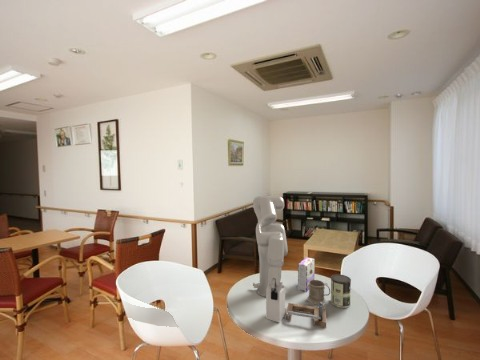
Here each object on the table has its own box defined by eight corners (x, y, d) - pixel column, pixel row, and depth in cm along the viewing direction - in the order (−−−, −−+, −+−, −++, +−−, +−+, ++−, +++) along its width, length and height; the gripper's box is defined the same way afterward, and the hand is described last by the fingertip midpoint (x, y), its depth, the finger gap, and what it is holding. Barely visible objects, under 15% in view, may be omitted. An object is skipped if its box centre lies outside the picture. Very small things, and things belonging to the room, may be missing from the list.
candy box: (305, 281, 168) (306, 256, 166) (314, 283, 164) (315, 258, 163) (297, 289, 156) (297, 263, 155) (306, 292, 153) (307, 265, 152)
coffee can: (348, 298, 145) (348, 274, 144) (352, 309, 135) (352, 283, 134) (329, 297, 147) (329, 273, 146) (331, 306, 137) (332, 281, 136)
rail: (286, 320, 125) (286, 311, 125) (287, 319, 126) (287, 310, 126) (320, 326, 121) (320, 317, 120) (320, 325, 122) (320, 316, 121)
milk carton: (279, 323, 123) (279, 285, 122) (266, 318, 127) (266, 281, 126) (284, 315, 129) (285, 279, 128) (272, 311, 133) (272, 276, 132)
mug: (303, 298, 146) (304, 277, 146) (316, 293, 151) (316, 274, 151) (323, 310, 134) (323, 288, 133) (336, 305, 139) (336, 283, 138)
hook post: (318, 323, 119) (318, 305, 119) (318, 318, 123) (318, 301, 122) (322, 323, 119) (322, 306, 118) (322, 318, 122) (322, 301, 122)
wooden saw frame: (285, 320, 125) (285, 315, 125) (288, 307, 137) (288, 302, 137) (326, 327, 120) (326, 322, 120) (325, 313, 131) (325, 308, 131)
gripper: (271, 254, 136) (271, 285, 137) (264, 267, 119) (264, 302, 120) (285, 255, 133) (285, 287, 135) (280, 268, 117) (280, 305, 118)
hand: (275, 294), depth 127 cm, fingers closed on milk carton, 8 cm apart
